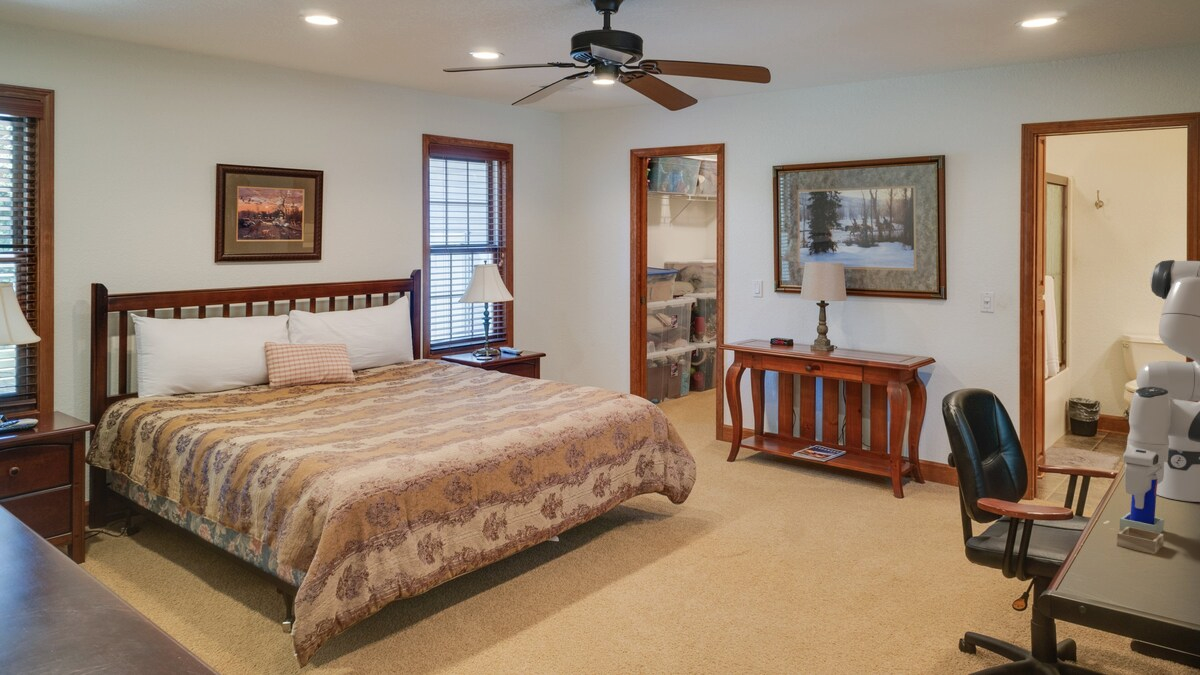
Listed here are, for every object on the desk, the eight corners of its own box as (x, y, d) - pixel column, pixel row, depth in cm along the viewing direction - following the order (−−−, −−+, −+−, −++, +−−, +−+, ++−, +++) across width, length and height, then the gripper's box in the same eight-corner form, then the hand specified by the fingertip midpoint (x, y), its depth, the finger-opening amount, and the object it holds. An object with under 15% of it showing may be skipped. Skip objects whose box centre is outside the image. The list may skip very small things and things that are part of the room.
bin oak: (1126, 537, 209) (1127, 526, 209) (1163, 546, 203) (1164, 534, 203) (1116, 545, 204) (1117, 533, 203) (1154, 554, 198) (1154, 541, 198)
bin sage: (1128, 523, 220) (1129, 512, 220) (1163, 530, 214) (1164, 519, 214) (1119, 530, 215) (1120, 518, 214) (1154, 537, 209) (1155, 526, 209)
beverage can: (1157, 534, 212) (1161, 476, 210) (1134, 533, 213) (1138, 475, 211) (1148, 527, 217) (1152, 470, 215) (1126, 526, 218) (1130, 469, 216)
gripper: (1144, 443, 222) (1141, 494, 223) (1120, 456, 208) (1117, 510, 209) (1173, 447, 217) (1169, 499, 219) (1150, 461, 203) (1146, 516, 205)
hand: (1143, 505), depth 214 cm, fingers closed on beverage can, 5 cm apart
